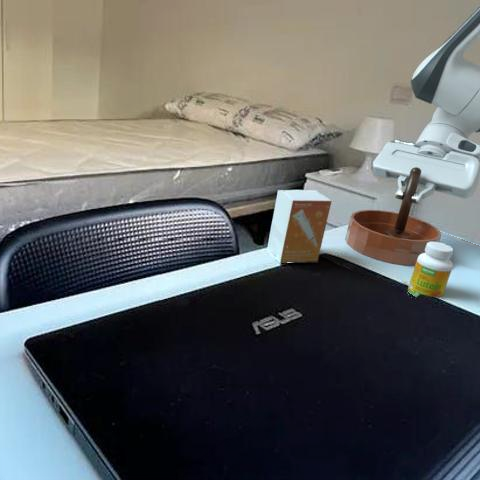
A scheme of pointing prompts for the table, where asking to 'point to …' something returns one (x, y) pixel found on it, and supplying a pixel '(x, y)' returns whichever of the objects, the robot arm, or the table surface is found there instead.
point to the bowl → (387, 247)
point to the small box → (298, 225)
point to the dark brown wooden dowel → (405, 206)
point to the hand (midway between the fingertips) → (406, 200)
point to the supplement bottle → (431, 270)
